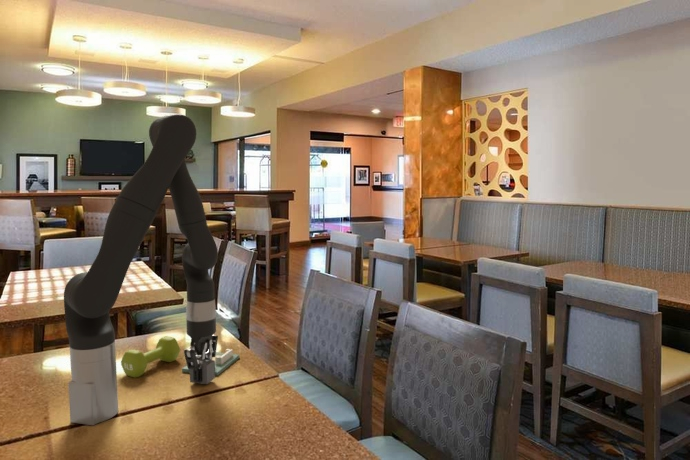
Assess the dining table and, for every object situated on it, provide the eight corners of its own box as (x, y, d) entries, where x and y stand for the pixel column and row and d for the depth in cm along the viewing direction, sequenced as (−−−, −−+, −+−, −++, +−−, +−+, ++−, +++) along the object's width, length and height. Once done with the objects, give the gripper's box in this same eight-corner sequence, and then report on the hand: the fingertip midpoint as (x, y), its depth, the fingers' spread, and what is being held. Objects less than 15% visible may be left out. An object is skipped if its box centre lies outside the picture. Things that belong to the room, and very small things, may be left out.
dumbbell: (138, 381, 132) (137, 355, 131) (118, 375, 135) (117, 350, 134) (183, 360, 146) (182, 337, 145) (163, 356, 150) (163, 333, 149)
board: (217, 375, 135) (217, 365, 134) (182, 372, 137) (181, 361, 137) (239, 357, 148) (239, 348, 148) (207, 354, 151) (206, 345, 150)
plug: (207, 384, 127) (206, 365, 127) (188, 382, 129) (187, 363, 128) (214, 378, 131) (214, 360, 131) (196, 376, 133) (195, 358, 132)
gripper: (200, 325, 120) (201, 391, 122) (226, 310, 134) (227, 370, 136) (173, 322, 122) (174, 388, 124) (202, 308, 136) (203, 367, 138)
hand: (202, 378), depth 130 cm, fingers closed on plug, 4 cm apart
